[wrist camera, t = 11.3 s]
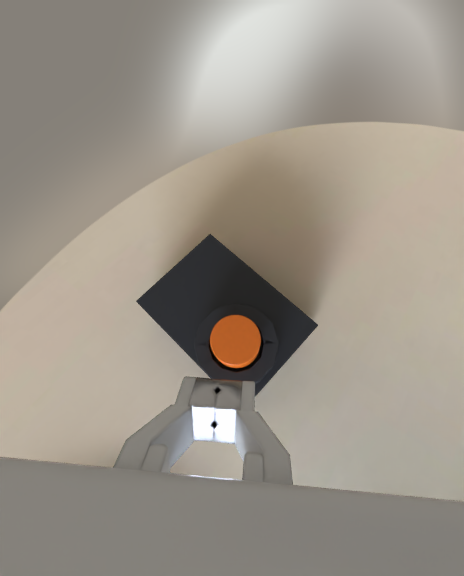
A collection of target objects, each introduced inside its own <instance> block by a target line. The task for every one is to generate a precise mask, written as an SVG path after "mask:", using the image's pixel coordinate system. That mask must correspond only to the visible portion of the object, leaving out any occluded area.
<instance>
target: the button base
mask: <svg viewBox="0 0 464 576" xmlns="http://www.w3.org/2000/svg"><path fill="white" fill-rule="evenodd" d="M136 302H137V303H138V304H139V305H140V306H141V307H142V308H143V309H144V310H145V311H146V312H147V313H148V314H149V315H150V316H151V317H152V318H153V319H154V320H155V321H156V322H157V323H158V324H159V325H160V326H161V327H162V328H163V329H164V331H165V332H166V333H167V334H168V335H169V336H170V337H171V338H172V339H173V340H174V341H175V342H176V343H177V344H178V345H179V346H180V347H181V348H182V349H183V350H184V351H185V352H186V353H187V354H188V355H189V356H190V357H191V358H192V359H193V360H194V361H195V362H196V363H197V364H198V366H199V367H200V368H201V369H202V370H203V371H204V372H205V373H206V374H207V375H208V376H209V377H210V378H211V379H219V380H234V381H242V384H243V381H254V382H255V396H256V395H257V394H258V393H259V392H260V391H261V390H262V388H263V387H264V386H265V385H266V384H267V383H268V382H269V380H270V379H271V378H272V377H273V376H274V375H275V374H276V373H277V371H278V370H279V369H280V368H281V367H282V366H283V365H284V363H285V362H286V361H287V360H288V359H289V358H290V357H291V356H292V354H293V353H294V352H295V351H296V350H297V349H298V348H299V346H300V345H301V344H302V343H303V342H304V341H305V340H306V339H307V337H308V336H309V335H310V334H311V333H312V332H313V331H314V329H315V328H316V327H317V326H318V324H316V323H315V322H314V321H313V320H312V319H311V318H309V317H308V316H307V315H306V314H305V313H303V312H302V311H301V310H300V309H299V308H297V307H296V306H295V305H294V304H293V303H292V302H290V301H289V300H288V299H287V298H286V297H284V296H283V295H282V294H281V293H280V292H278V291H277V290H276V289H275V288H274V287H273V286H271V285H270V284H269V283H268V282H267V281H265V280H264V279H263V278H262V277H261V276H259V275H258V274H257V273H256V272H255V271H254V270H252V269H251V268H250V267H249V266H248V265H246V264H245V263H244V262H243V261H242V260H240V259H239V258H238V257H237V256H236V255H235V254H233V253H232V252H231V251H230V250H229V249H227V248H226V247H225V246H224V245H223V244H222V243H220V242H219V241H218V240H217V239H216V238H214V237H213V236H212V235H211V234H209V235H208V236H207V237H206V238H205V239H204V240H203V241H202V242H201V243H200V244H198V245H197V246H196V247H195V248H194V249H193V250H192V251H191V252H190V253H189V254H188V255H186V256H185V257H184V258H183V259H182V260H181V261H180V262H179V263H178V264H177V265H175V266H174V267H173V268H172V269H171V270H170V271H169V272H168V273H167V274H166V275H164V276H163V277H162V278H161V279H160V280H159V281H158V282H157V283H156V284H155V285H153V286H152V287H151V288H150V289H149V290H148V291H147V292H146V293H145V294H144V295H142V296H141V297H140V298H139V299H138V300H137V301H136ZM230 315H242V316H245V317H247V318H249V319H250V320H252V321H253V322H254V323H255V324H256V326H257V327H258V329H259V332H260V335H261V345H260V349H259V353H258V355H257V357H256V358H255V360H254V361H253V362H252V363H250V364H249V365H247V366H245V367H242V368H231V367H227V366H225V365H224V364H222V363H221V362H220V361H219V360H218V359H217V358H216V356H215V355H214V353H213V351H212V349H211V345H210V335H211V332H212V329H213V327H214V326H215V324H216V323H217V322H218V321H219V320H221V319H222V318H224V317H226V316H230Z"/></svg>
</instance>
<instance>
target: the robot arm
mask: <svg viewBox="0 0 464 576" xmlns="http://www.w3.org/2000/svg"><path fill="white" fill-rule="evenodd" d="M254 403H255V382H254V381H243V384H242V381H234V380H219V379H209V378H198V377H197V378H196V377H186V376H185V377H184V379H183V381H182V384H181V387H180V390H179V393H178V396H177V399H176V402H175V405H170V406H169V407H168V408H166V409H165V410H164V411H162V412H161V413H160V414H159V415H157V416H156V417H155V418H153V419H152V420H151V421H150V422H148V423H147V424H146V425H144V426H143V427H142V428H141V429H139V430H138V431H137V432H136V433H134V434H133V435H132V436H130V437H129V438H128V439H127V440H126V441H125V443H124V445H123V447H122V450H121V452H120V454H119V456H118V458H117V460H116V462H115V465H114V467H113V468H111V467H101V466H91V465H80V464H70V463H59V462H49V461H39V460H28V459H18V458H7V457H0V576H464V501H454V500H444V499H433V498H423V497H413V496H402V495H392V494H381V493H371V492H361V491H350V490H340V489H329V488H319V487H309V486H298V485H293V482H292V471H291V461H290V454H289V453H288V452H287V450H286V449H285V448H284V446H283V445H282V444H281V442H280V441H279V440H278V438H277V437H276V436H275V434H274V433H273V432H272V430H271V429H270V427H269V426H268V425H267V423H266V422H265V421H264V419H263V418H262V417H261V415H260V414H259V413H258V412H255V411H254ZM193 440H196V441H215V442H222V443H231V444H235V446H236V448H237V450H238V452H239V454H240V456H241V458H242V460H243V462H244V464H243V478H242V480H236V479H226V478H216V477H205V476H195V475H184V474H174V473H170V468H171V467H172V466H173V465H174V463H175V462H176V461H177V460H178V459H179V458H180V457H181V455H182V454H183V453H184V452H185V451H186V450H187V448H188V447H189V446H190V445H191V444H192V443H193Z"/></svg>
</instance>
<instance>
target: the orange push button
mask: <svg viewBox="0 0 464 576" xmlns="http://www.w3.org/2000/svg"><path fill="white" fill-rule="evenodd" d="M210 345H211V349H212V351H213V353H214V355H215V356H216V358H217V359H218V360H219V361H220V362H221V363H222V364H224V365H225V366H227V367H231V368H242V367H245V366H247V365H249V364H250V363H252V362H253V361H254V360H255V358H256V357H257V355H258V353H259V349H260V345H261V335H260V332H259V329H258V327H257V326H256V324H255V323H254V322H253V321H252V320H250V319H249V318H247V317H245V316H242V315H230V316H226V317H224V318H222V319H221V320H219V321H218V322H217V323H216V324H215V326H214V327H213V329H212V332H211V335H210Z"/></svg>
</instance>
